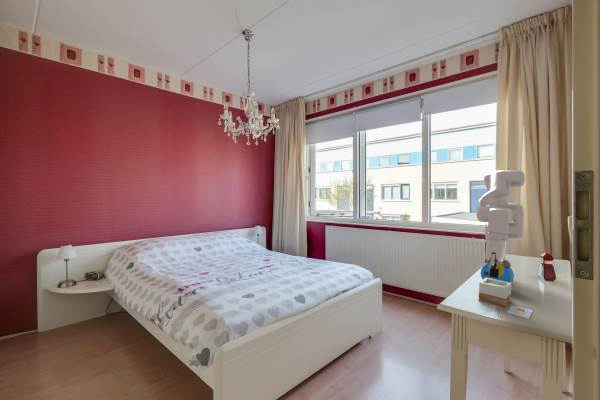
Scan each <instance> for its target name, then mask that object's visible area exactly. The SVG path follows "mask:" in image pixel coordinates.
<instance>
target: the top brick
mask: <svg viewBox="0 0 600 400" xmlns="http://www.w3.org/2000/svg"><path fill="white" fill-rule="evenodd" d="M512 283H513V282H512ZM512 283H509V282H504V281H499V280H495V279H490V278H484V279H482V280H480V282H479V283H478V293H479V292H480V293H484V294H488V295H492V296H496V297H500V298H504V299H506V298H507V297H508V296H509V295H510V294H511V295H512Z"/></svg>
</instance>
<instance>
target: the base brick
mask: <svg viewBox="0 0 600 400" xmlns="http://www.w3.org/2000/svg"><path fill="white" fill-rule="evenodd" d="M511 300H512V293H511V294H510V295H509V296H508V297H507V298H506V299H504V298H500V297H496V296H492V295H488V294H484V293H480V292H479V291H478V302H482V303H485V304H489V305H493V306H496V307H500V308H504V309H506V308H507V306H509V304H510V303H511V302H512V301H511Z"/></svg>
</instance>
